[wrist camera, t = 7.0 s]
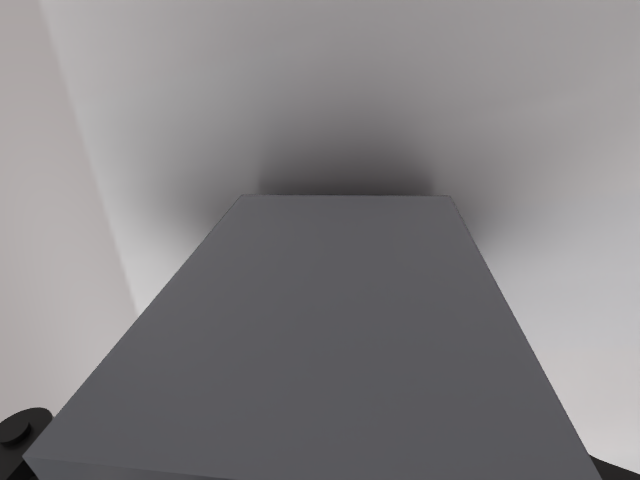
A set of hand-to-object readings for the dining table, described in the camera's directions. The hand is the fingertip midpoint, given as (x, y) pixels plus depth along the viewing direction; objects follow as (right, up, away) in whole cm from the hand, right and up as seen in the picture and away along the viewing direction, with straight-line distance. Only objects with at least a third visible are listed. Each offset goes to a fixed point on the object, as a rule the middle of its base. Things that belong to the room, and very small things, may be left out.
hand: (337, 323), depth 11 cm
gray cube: (0, +1, +2) cm, 2 cm away
